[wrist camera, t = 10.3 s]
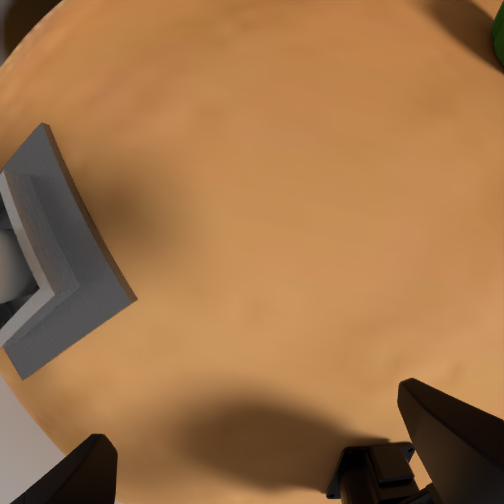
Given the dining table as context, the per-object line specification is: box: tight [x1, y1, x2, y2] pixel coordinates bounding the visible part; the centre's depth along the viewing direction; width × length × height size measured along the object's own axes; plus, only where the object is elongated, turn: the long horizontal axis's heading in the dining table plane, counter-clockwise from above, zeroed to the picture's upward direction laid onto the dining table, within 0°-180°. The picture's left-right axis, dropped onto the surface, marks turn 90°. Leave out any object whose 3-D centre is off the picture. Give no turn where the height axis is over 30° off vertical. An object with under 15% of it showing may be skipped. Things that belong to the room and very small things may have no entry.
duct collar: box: [0, 123, 138, 380], centre depth 19 cm, size 16×16×4 cm
